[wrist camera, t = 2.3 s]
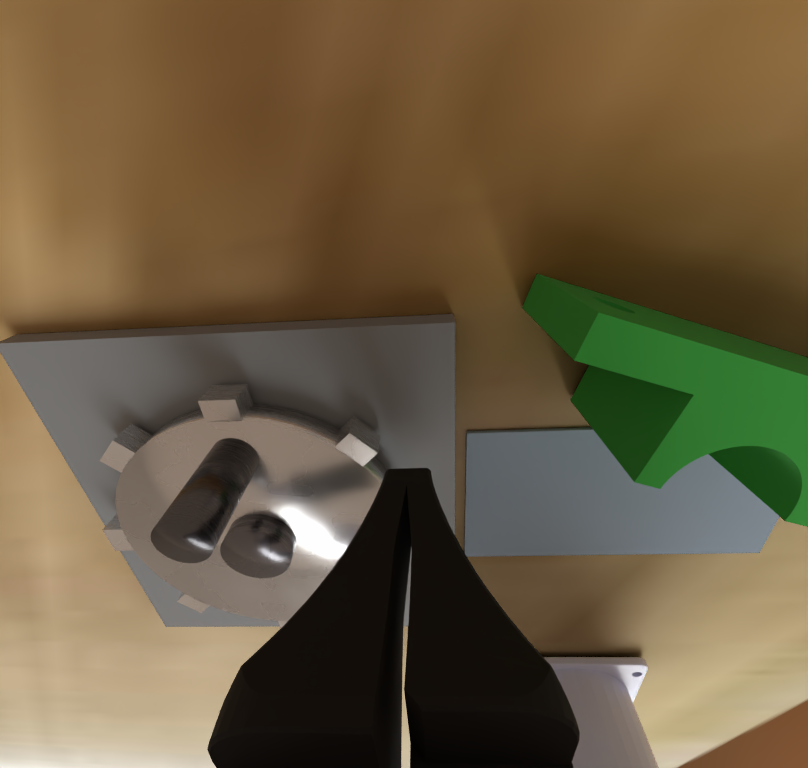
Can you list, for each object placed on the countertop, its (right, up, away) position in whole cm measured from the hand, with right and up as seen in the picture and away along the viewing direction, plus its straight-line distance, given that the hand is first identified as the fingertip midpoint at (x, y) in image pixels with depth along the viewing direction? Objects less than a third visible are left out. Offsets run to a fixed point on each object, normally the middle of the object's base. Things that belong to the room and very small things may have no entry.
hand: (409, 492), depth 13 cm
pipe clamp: (+9, +4, +1) cm, 10 cm away
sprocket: (-6, -2, +5) cm, 7 cm away
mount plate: (-6, -2, +5) cm, 7 cm away
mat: (+9, -1, +4) cm, 10 cm away
